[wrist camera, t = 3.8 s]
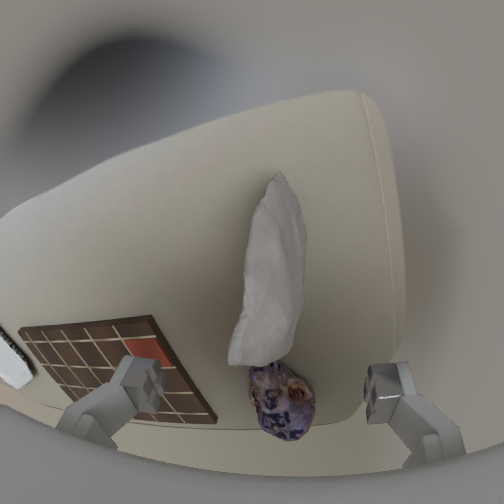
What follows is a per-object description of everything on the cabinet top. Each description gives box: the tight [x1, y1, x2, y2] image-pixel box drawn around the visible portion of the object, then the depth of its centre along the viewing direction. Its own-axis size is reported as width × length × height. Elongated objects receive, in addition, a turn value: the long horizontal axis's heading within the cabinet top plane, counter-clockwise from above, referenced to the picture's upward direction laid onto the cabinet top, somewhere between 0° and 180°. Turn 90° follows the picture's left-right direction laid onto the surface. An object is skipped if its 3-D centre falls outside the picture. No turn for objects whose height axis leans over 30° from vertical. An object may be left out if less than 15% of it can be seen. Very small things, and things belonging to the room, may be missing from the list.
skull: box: [249, 361, 315, 441], centre depth 32 cm, size 12×8×6 cm, turn 15°
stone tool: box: [227, 171, 307, 367], centre depth 18 cm, size 9×3×15 cm, turn 18°
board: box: [18, 315, 218, 424], centre depth 39 cm, size 28×20×1 cm
